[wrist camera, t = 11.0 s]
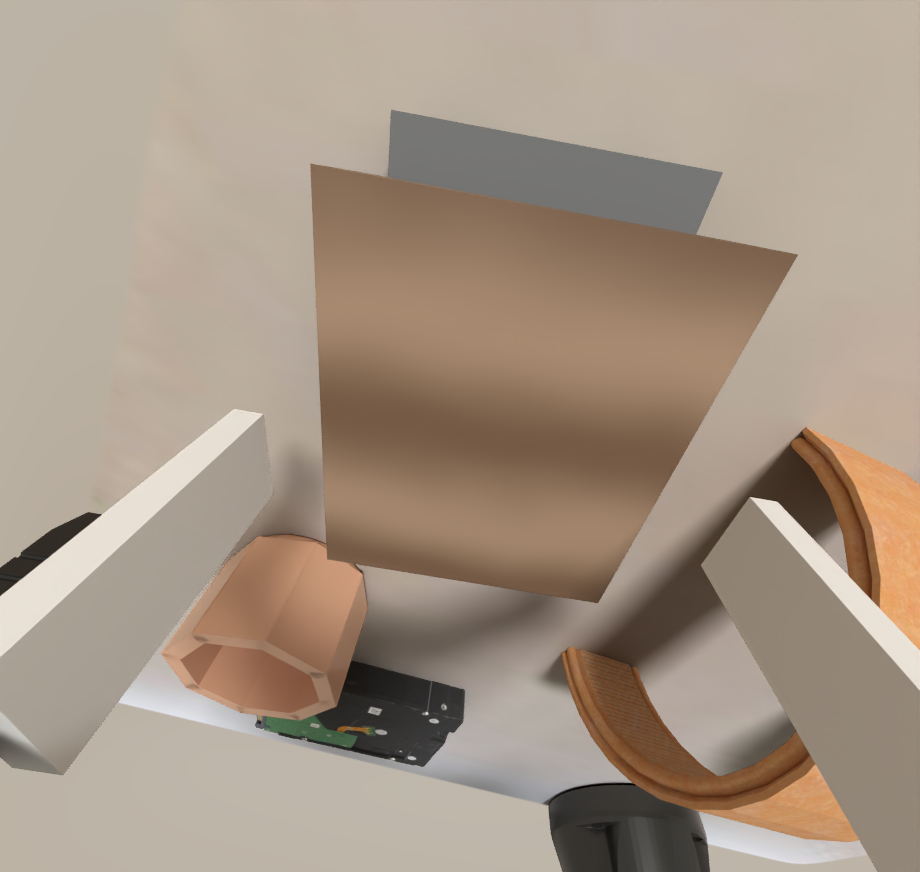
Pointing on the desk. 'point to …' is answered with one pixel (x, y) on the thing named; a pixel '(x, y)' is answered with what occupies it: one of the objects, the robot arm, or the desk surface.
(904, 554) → the arch
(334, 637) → the plant pot
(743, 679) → the desk surface
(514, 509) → the cover board
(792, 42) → the desk surface
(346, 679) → the disk drive
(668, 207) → the block
